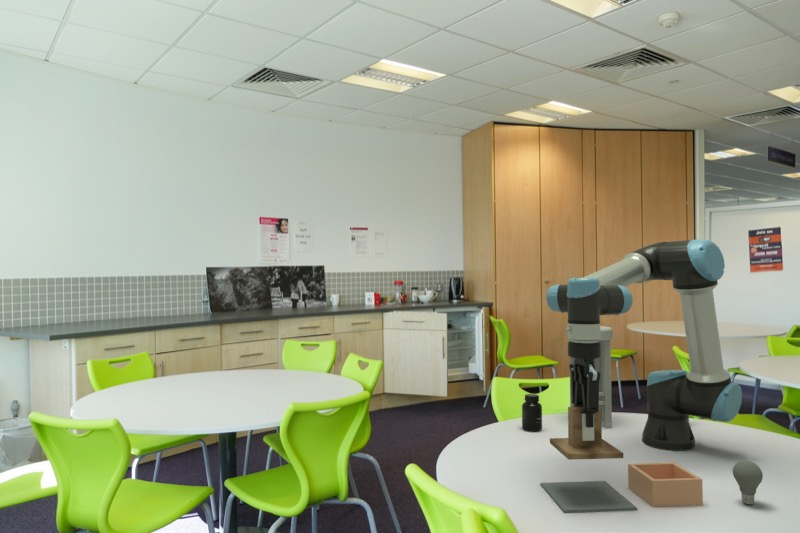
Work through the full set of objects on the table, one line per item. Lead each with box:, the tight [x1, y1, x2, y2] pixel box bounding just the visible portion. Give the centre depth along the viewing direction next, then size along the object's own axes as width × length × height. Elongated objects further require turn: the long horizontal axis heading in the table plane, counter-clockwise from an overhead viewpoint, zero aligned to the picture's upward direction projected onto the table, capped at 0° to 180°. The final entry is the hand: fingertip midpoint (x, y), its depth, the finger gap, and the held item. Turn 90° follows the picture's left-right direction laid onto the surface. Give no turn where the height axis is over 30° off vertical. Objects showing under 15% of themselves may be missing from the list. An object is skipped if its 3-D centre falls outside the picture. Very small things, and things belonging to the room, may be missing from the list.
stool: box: [565, 325, 614, 430], centre depth 203 cm, size 16×16×35 cm
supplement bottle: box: [521, 393, 543, 433], centre depth 196 cm, size 7×7×12 cm
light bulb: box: [732, 459, 764, 505], centre depth 132 cm, size 6×6×10 cm
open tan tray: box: [627, 462, 704, 508], centre depth 136 cm, size 12×12×6 cm
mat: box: [540, 480, 638, 514], centre depth 136 cm, size 17×17×1 cm
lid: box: [549, 406, 624, 461], centre depth 136 cm, size 13×13×10 cm
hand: (584, 437), depth 136 cm, fingers closed on lid, 3 cm apart
